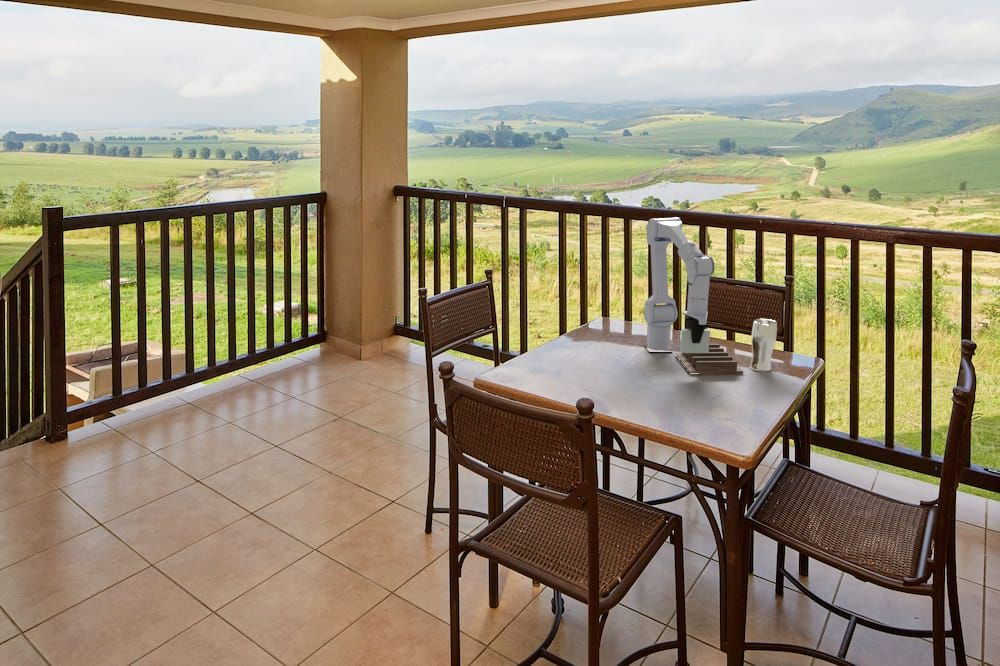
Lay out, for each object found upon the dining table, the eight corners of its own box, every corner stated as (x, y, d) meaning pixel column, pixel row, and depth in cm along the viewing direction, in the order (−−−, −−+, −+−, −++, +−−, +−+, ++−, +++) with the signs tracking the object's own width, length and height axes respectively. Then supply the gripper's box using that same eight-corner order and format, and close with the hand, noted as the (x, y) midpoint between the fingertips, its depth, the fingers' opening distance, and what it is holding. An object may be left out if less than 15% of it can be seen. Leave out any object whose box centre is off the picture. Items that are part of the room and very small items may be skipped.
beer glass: (746, 370, 198) (751, 323, 194) (749, 363, 204) (754, 317, 199) (771, 373, 195) (776, 325, 190) (773, 366, 201) (778, 320, 196)
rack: (675, 355, 212) (676, 344, 211) (724, 355, 212) (725, 343, 211) (689, 374, 195) (690, 362, 194) (742, 374, 195) (744, 361, 194)
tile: (680, 351, 197) (681, 328, 195) (706, 351, 196) (708, 329, 194) (681, 353, 195) (683, 330, 193) (708, 353, 195) (710, 330, 193)
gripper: (678, 292, 198) (676, 334, 202) (690, 303, 184) (687, 348, 188) (702, 292, 198) (698, 334, 202) (715, 303, 184) (711, 348, 188)
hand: (694, 341), depth 195 cm, fingers closed on tile, 2 cm apart
